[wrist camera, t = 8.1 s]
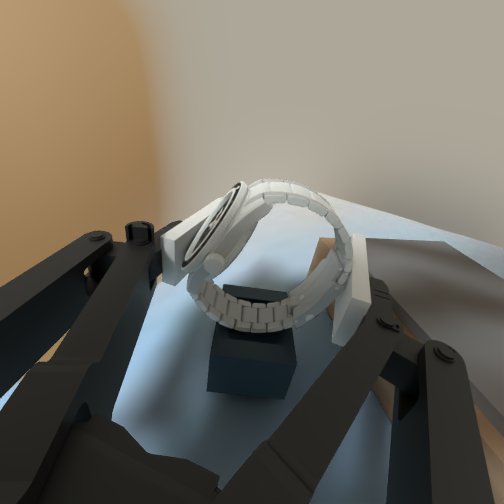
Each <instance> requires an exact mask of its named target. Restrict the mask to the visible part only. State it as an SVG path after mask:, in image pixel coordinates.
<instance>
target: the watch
mask: <svg viewBox="0 0 504 504" xmlns="http://www.w3.org/2000/svg"><path fill="white" fill-rule="evenodd" d="M286 200H287V202H288V204H290V205H296V206H300V207H306V206H308V208H309V210H311V211H313V212H315V213H317V214H319V215H321V216H324V217H325V218H326V220H327V221H328V222H329V223H330V224H331V225H332V226H333V227H334V231H335V238H336V241H335V245H334V249H330V251H329V253H328V255H327V257H326V259H322V261H321V262H320V263H319V264H318V266H317V267H316V268H315V269H314V271H313V272H312V273H311V274H310V275H309V276H308V277H307V278H306V279H305V280H304V281H303V282H302V283H300V284H299V285H298V286H297V287H295V288H294V289H293V290H291V291H290V292H289V293H288V295H287V292H281V291H273V290H265V289H258V288H250V287H242V286H235V285H227V284H223V290H222V289H221V288H219V287H218V286H217V285H216V284H214V281H213V280H212V279H213V278H215V277H217V276H218V275H219V274H221V273H222V272H223V271H224V270H225V269H226V268H227V267H228V266H229V265H230V264H231V263H232V262H233V261H234V260H235V259H236V257H237V256H238V255H239V253H240V252H241V251H242V249H243V248H244V246H245V245H246V243H247V242H248V240H249V239H250V237H251V235H252V233H253V231H254V230H255V228H256V225H257V223H258V221H259V220H260V219H261V218H263V217H264V216H265V215H267V214H268V213H269V212H270V210H271V209H272V205H271V204H270V203H285V202H286ZM352 259H353V247H352V243H351V239H350V237H349V234H348V232H347V231H346V229H345V227H344V226H343V224H342V223H341V221H340V219H339V218H338V216H337V215H336V213H335V212H334V210H333V209H332V207H331V206H330V204H329V203H328V202H327V201H326V200H325V199H324V198H323V197H322V196H321V195H319V194H318V193H317V192H316V191H314V190H313V189H311V188H309V187H307V186H305V185H301V184H300V183H297V182H293V181H289V180H284V181H282V180H281V179H261V180H259V181H256V182H255V183H253V184H251V185H249V186H248V187H247V184H245V183H244V182H243V181H241V182H239V183H237V184H236V185H235V186H234V187H233V188H232V189H231V190H230V191H229V192H228V193H227V194H226V195H225V196H224V198H223V199H222V200H221V201H220V202H219V204H218V205H217V206H216V207H215V209H214V210H213V211H212V213H211V214H210V215H209V217H208V218H207V220H206V221H205V223H204V224H203V226H202V227H201V229H200V230H199V232H198V233H197V235H196V237H195V238H194V240H193V242H192V244H191V245H190V247H189V249H188V251H187V253H186V255H185V257H184V260H183V262H182V267H181V269H182V270H183V271H185V272H186V273H187V272H189V276H188V280H187V288H186V289H187V291H188V292H189V293H190V295H191V296H192V298H193V299H194V300H195V303H196V304H197V306H198V307H199V308H200V309H201V310H202V311H203V312H205V314H206V315H207V316H208V317H210V318H211V319H213V320H214V321H216V326H215V332H214V337H213V342H212V347H211V353H210V361H209V372H208V382H207V391H209V392H219V393H228V394H237V395H246V396H256V397H265V398H274V399H284V398H285V396H286V393H287V390H288V388H289V385H290V382H291V380H292V377H293V374H294V372H295V369H296V366H297V361H296V354H295V346H294V339H293V332H292V327H293V326H295V327H296V329H297V328H299V327H300V326H302V325H304V324H305V323H307V322H308V321H310V320H311V319H313V318H314V317H315V316H317V315H318V314H319V313H321V312H322V311H323V310H324V309H325V308H327V307H328V306H329V305H330V304H331V303H332V302H333V301H334V300H335V299H336V298H337V297H338V295H339V294H340V293H341V292H342V291H343V290H344V288H345V287H346V285H347V278H348V276H349V272H350V271H351V268H352V264H353V260H352ZM288 296H289V298H288Z"/></svg>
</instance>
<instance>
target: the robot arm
mask: <svg viewBox="0 0 504 504" xmlns="http://www.w3.org/2000/svg"><path fill="white" fill-rule="evenodd" d="M222 199H223V198H220V197H219V198H218V199H216V200H215V201H213V202H212V203H210V204H209V205H207V206H206V207H204V208H203V209H201V210H200V211H198V212H197V213H195V214H194V215H192V216H191V217H189V218H187V219H186V220H184V221H175V222H172V223H170V224H168V225H167V226H166V227H164V228H162V229H160V230H159V231H157V232H155V233H154V226H153V225H152V224H151V223H149V222H144V221H137V222H131V223H129V224H127V225H126V226H125V230H126V239H127V241H126V243H123V242H115V241H113V240H112V235H111V234H110V233H109V232H105V231H93V232H89V233H87V234H84V235H83V236H81V237H80V238H78V239H77V240H75V241H73V242H72V243H70V244H69V245H67V246H66V247H64V248H62V249H61V250H59V251H57V252H56V253H54V254H53V255H51V256H49V257H48V258H46V259H45V260H43V261H42V262H40V263H38V264H37V265H35V266H34V267H32V268H30V269H29V270H27V271H26V272H24V273H23V274H21V275H19V276H18V277H16V278H15V279H13V280H11V281H10V282H8V283H7V284H5V285H3V286H2V287H0V398H1V397H2V396H3V395H4V394H5V393H6V392H7V391H8V390H9V389H10V388H11V387H12V386H13V385H14V384H15V383H16V382H17V381H18V380H19V379H20V378H21V377H22V376H23V375H24V374H25V373H26V372H27V371H28V370H29V369H30V370H29V371H28V372H27V373H26V375H25V376H24V378H23V379H22V381H21V382H20V383H19V385H18V386H17V388H16V389H15V391H14V392H13V393H12V395H11V396H10V398H9V399H8V401H7V402H6V403H5V405H4V406H3V408H2V409H1V411H0V504H309V502H310V500H311V498H312V496H313V493H314V490H315V488H316V487H317V485H318V483H319V481H320V479H321V478H322V476H323V474H324V472H325V470H326V469H327V467H328V465H329V463H330V462H331V460H332V458H333V456H334V455H335V453H336V451H337V449H338V447H339V446H340V444H341V442H342V440H343V439H344V437H345V435H346V433H347V431H348V430H349V428H350V426H351V424H352V423H353V421H354V419H355V417H356V415H357V414H358V412H359V410H360V408H361V407H362V405H363V403H364V401H365V399H366V398H367V396H368V394H369V392H370V391H371V389H372V387H373V385H374V383H375V382H376V380H377V378H378V376H380V377H382V378H383V379H385V380H386V381H388V382H390V383H391V384H393V385H394V386H395V390H394V404H393V418H392V432H391V445H390V459H389V473H388V486H387V500H386V504H495V502H494V497H493V493H492V488H491V483H490V478H489V473H488V469H487V464H486V459H485V454H484V450H483V445H482V440H481V435H480V431H479V426H478V421H477V416H476V412H475V407H474V402H473V397H472V392H471V388H470V383H469V378H468V373H467V369H466V364H465V362H464V359H463V358H462V356H461V355H460V354H459V353H458V352H457V351H456V350H455V349H453V348H452V347H451V346H449V345H447V344H445V343H443V342H440V341H437V340H429V341H427V342H426V343H425V344H424V345H423V344H422V343H420V342H418V341H416V340H414V339H412V338H411V337H409V336H408V335H406V334H405V333H404V332H403V326H402V324H401V323H400V322H399V321H398V320H397V319H396V318H395V317H394V315H393V310H392V305H391V301H390V295H389V289H388V286H387V285H386V284H385V283H384V281H383V280H380V279H377V278H373V277H370V276H369V272H368V261H367V250H366V239H365V236H362V235H358V234H354V233H352V236H351V238H350V239H351V243H352V247H353V259H352V260H353V264H352V268H351V271H350V272H349V276H348V278H347V285H346V287H345V288H344V290H343V291H342V292H341V293H340V294H339V295H338V297H337V298H336V300H335V310H334V320H333V331H332V341H331V343H334V344H337V345H340V346H342V347H343V348H342V350H341V351H340V352H339V353H338V354H337V356H336V357H335V358H334V359H333V361H332V362H331V363H330V364H329V366H328V367H327V368H326V369H325V371H324V372H323V373H322V374H321V376H320V377H319V378H318V379H317V380H316V382H315V383H314V384H313V385H312V387H311V388H310V389H309V390H308V392H307V393H306V394H305V395H304V397H303V398H302V399H301V400H300V402H299V403H298V404H297V405H296V406H295V408H294V409H293V410H292V411H291V413H290V414H289V415H288V416H287V418H286V419H285V420H284V421H283V423H282V424H281V425H280V426H279V428H278V429H277V430H276V431H275V432H274V434H273V435H272V436H271V437H270V438H269V439H268V440H267V441H264V442H263V443H261V444H260V445H259V446H258V448H257V449H256V450H255V451H254V452H253V453H252V455H251V456H250V457H249V458H248V459H247V461H246V462H245V463H244V464H243V465H242V467H241V468H240V469H239V470H238V471H237V473H236V474H235V475H234V476H233V478H232V479H231V480H230V481H229V482H228V484H227V485H226V486H225V487H224V488H223V490H222V491H221V490H220V489H219V488H218V487H217V486H218V481H219V476H218V475H216V474H214V473H212V472H210V471H208V470H207V469H205V468H203V467H201V466H199V465H197V464H195V463H193V462H191V461H189V460H187V459H182V458H175V457H168V456H162V455H155V454H150V453H147V452H146V451H145V450H144V449H143V448H142V447H141V446H140V445H139V443H138V442H137V441H136V440H135V439H134V438H133V437H132V436H131V435H130V434H129V433H128V431H127V430H126V429H125V428H124V427H123V426H121V425H119V424H117V423H115V422H113V421H111V420H112V412H113V409H114V405H115V402H116V400H117V397H118V394H119V391H120V388H121V385H122V382H123V380H124V377H125V374H126V371H127V368H128V365H129V362H130V360H131V357H132V354H133V351H134V348H135V345H136V342H137V339H138V337H139V334H140V331H141V328H142V325H143V322H144V319H145V317H146V314H147V311H148V308H149V305H150V302H151V299H152V297H153V294H154V291H155V288H156V285H157V277H158V276H159V275H160V274H161V273H162V282H165V283H167V284H170V285H173V286H176V285H177V284H178V283H179V282H180V281H181V280H182V279H183V278H184V277H185V276H186V275H187V274H188V273H189V272H187V273H186V272H185V271H183V270H182V269H181V267H182V262H183V260H184V257H185V255H186V253H187V251H188V249H189V247H190V245H191V244H192V242H193V240H194V238H195V237H196V235H197V233H198V232H199V230H200V229H201V227H202V226H203V224H204V223H205V221H206V220H207V218H208V217H209V215H210V214H211V213H212V211H213V210H214V209H215V207H216V206H217V205H218V204H219V202H220V201H221V200H222ZM87 267H88V271H89V272H88V273H87V274H86V275H84V271H85V269H86V268H87ZM69 329H70V330H69ZM68 330H69V331H68ZM67 331H68V333H67V335H66V336H65V338H64V339H63V341H62V342H61V344H60V345H59V347H58V348H57V350H56V352H55V353H54V355H53V356H52V357H51V359H50V360H49V361H47V362H38V363H36V362H37V361H38V360H39V359H40V358H41V357H42V356H43V355H44V354H45V353H46V352H47V351H48V350H49V349H50V348H51V347H52V346H53V345H54V344H55V343H56V342H57V341H58V340H59V339H60V338H61V337H62V336H63V335H64V334H65V333H66V332H67ZM35 363H36V364H35Z"/></svg>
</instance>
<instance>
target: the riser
mask: <svg viewBox="0 0 504 504" xmlns="http://www.w3.org/2000/svg"><path fill="white" fill-rule="evenodd" d="M350 238H351V237H350ZM365 239H366V250H367V261H368V272H369V276H370V277H373V278H377V279H380V280H383V281H384V283H385V284H386V285H387V286H388V289H389V295H390V301H391V305H392V310H393V315H394V317H395V318H396V319H397V320H398V321H399V322H400V323H401V324H402V326H403V332H404V333H405V334H406V335H408V336H409V337H411V338H412V339H414V340H416V341H418V342H420V343H422V344H423V345H424V344H425V343H426V342H427V341H429V340H437V341H440V342H443V343H445V344H447V345H449V346H451V347H452V348H453V349H455V350H456V351H457V352H458V353H459V354H460V355H461V356H462V358H463V359H464V362H465V364H466V369H467V373H468V378H469V383H470V388H471V392H472V397H473V402H474V407H475V412H476V416H477V421H478V426H479V431H480V435H481V440H482V445H483V450H484V454H485V459H486V464H487V469H488V473H489V478H490V483H491V488H492V493H493V497H494V502H495V504H504V280H503V279H502V278H500V277H499V276H497V275H496V274H494V273H492V272H491V271H489V270H488V269H486V268H485V267H483V266H481V265H480V264H478V263H477V262H475V261H474V260H472V259H471V258H469V257H467V256H466V255H464V254H463V253H461V252H460V251H458V250H456V249H455V248H453V247H452V246H450V245H449V244H447V243H445V242H440V241H418V240H397V239H376V238H365ZM335 241H336V238H319V241H318V244H317V247H316V250H315V254H314V257H313V260H312V263H311V266H310V269H309V272H308V275H307V277H308V276H309V275H310V274H311V273H312V272H313V271H314V269H315V268H316V267H317V266H318V264H319V263H320V262H321V261H322V259H326V257H327V255H328V253H329V251H330V249H334V245H335ZM335 300H336V299H335ZM335 300H334V301H333V302H332V303H331V304H330V305H329V306H328V307H327V308H325V309H326V311H327V313H328V314H329V316H330V318H331V319H332V321H333V320H334V310H335ZM372 390H373V392H374V393H375V395H376V397H377V398H378V400H379V402H380V404H381V405H382V407H383V409H384V410H385V412H386V414H387V416H388V417H389V419H390V421H391V422H392V418H393V404H394V390H395V386H394V385H393V384H391V383H390V382H388V381H386V380H385V379H383V378H382V377H380V376H378V378H377V380H376V382H375V383H374V385H373V387H372Z"/></svg>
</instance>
